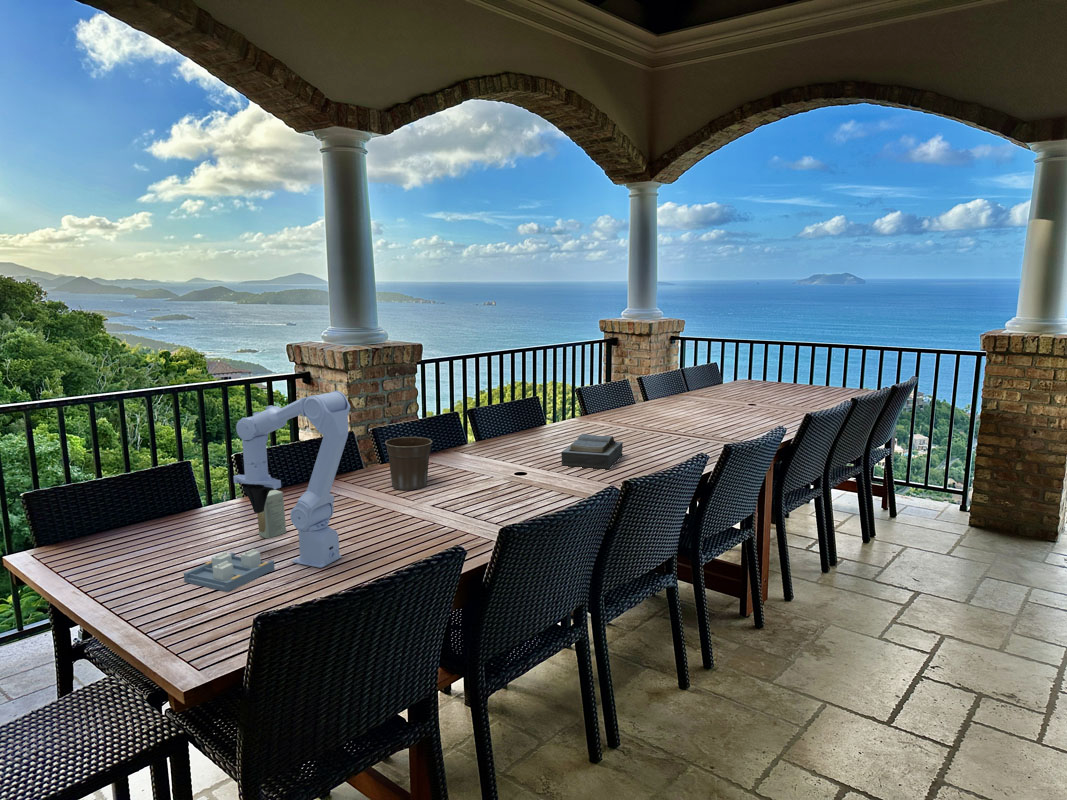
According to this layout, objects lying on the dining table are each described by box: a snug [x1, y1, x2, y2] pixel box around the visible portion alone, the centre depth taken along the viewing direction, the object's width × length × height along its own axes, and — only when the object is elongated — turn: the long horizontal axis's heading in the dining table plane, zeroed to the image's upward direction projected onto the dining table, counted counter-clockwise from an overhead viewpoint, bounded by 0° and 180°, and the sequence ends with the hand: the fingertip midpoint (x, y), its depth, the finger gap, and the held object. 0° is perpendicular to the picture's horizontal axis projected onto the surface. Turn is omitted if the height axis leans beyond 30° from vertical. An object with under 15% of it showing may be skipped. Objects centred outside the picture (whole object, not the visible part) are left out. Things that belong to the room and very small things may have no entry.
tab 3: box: [240, 548, 262, 568], centre depth 172 cm, size 3×3×4 cm
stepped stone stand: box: [560, 433, 624, 471], centre depth 280 cm, size 23×27×10 cm
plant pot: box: [384, 436, 433, 492], centre depth 245 cm, size 16×16×16 cm
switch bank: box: [183, 552, 275, 593], centre depth 169 cm, size 14×14×2 cm
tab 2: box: [213, 561, 234, 582], centre depth 164 cm, size 3×3×4 cm
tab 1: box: [211, 551, 232, 569], centre depth 170 cm, size 3×3×4 cm
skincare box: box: [256, 489, 287, 540], centre depth 197 cm, size 6×4×12 cm
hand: (259, 511), depth 185 cm, fingers closed
